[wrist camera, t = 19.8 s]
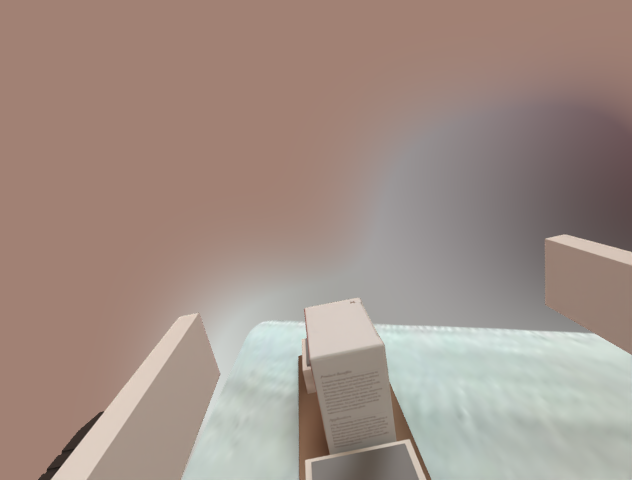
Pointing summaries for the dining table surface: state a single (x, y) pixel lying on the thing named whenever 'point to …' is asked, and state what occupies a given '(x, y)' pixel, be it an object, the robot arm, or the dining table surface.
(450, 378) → the dining table surface
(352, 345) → the small box
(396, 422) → the board
